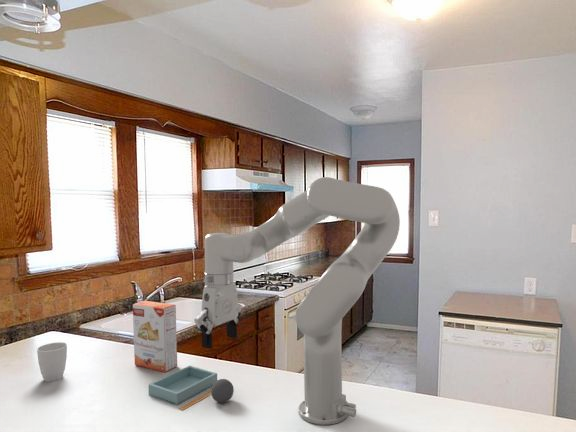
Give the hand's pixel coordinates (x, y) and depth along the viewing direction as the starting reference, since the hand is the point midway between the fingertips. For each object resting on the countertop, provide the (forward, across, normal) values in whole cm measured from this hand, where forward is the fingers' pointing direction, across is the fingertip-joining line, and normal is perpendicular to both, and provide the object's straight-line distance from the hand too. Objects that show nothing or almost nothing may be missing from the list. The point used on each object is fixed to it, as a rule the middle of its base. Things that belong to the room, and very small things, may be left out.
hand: (219, 342), depth 112 cm
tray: (+16, 0, +13) cm, 21 cm away
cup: (+17, -16, +55) cm, 60 cm away
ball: (+16, 0, -1) cm, 16 cm away
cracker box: (+17, +7, +35) cm, 40 cm away
